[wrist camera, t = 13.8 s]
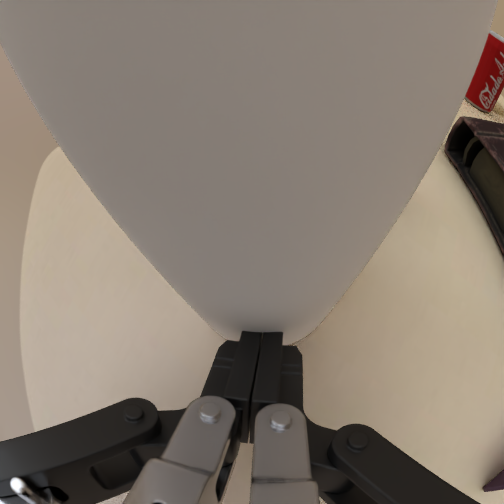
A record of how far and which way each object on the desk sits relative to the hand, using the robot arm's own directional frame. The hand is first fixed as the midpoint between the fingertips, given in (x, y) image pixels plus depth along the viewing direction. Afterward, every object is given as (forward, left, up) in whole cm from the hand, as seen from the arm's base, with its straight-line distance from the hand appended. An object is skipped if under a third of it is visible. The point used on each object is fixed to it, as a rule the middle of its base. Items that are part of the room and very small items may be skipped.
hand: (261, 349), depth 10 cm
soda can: (+16, +38, -4) cm, 42 cm away
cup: (-2, +4, -4) cm, 6 cm away
